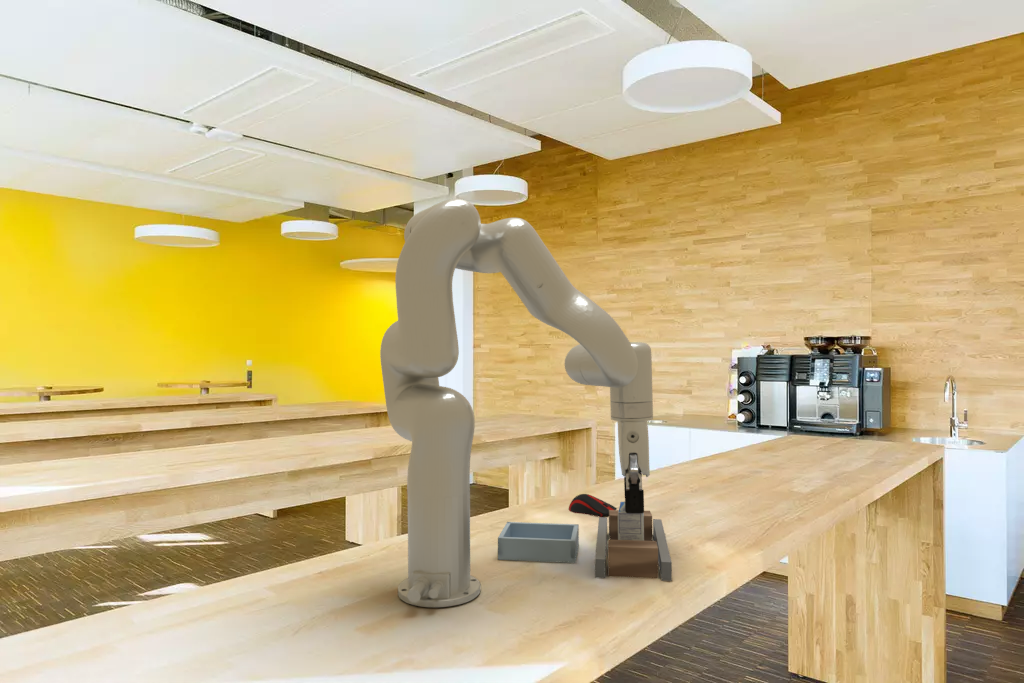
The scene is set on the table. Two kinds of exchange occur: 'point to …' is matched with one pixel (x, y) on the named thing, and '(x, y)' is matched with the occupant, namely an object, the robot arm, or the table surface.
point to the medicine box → (630, 525)
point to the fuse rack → (659, 537)
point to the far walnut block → (614, 525)
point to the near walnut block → (632, 558)
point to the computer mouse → (590, 506)
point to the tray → (539, 542)
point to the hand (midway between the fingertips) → (634, 505)
